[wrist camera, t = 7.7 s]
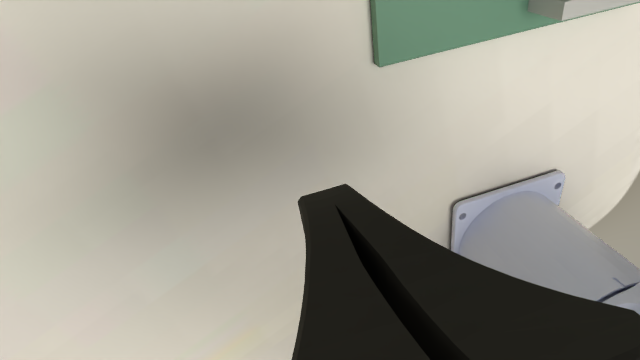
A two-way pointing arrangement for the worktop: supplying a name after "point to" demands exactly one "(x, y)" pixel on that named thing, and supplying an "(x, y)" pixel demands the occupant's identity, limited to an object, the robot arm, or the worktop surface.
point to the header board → (464, 22)
